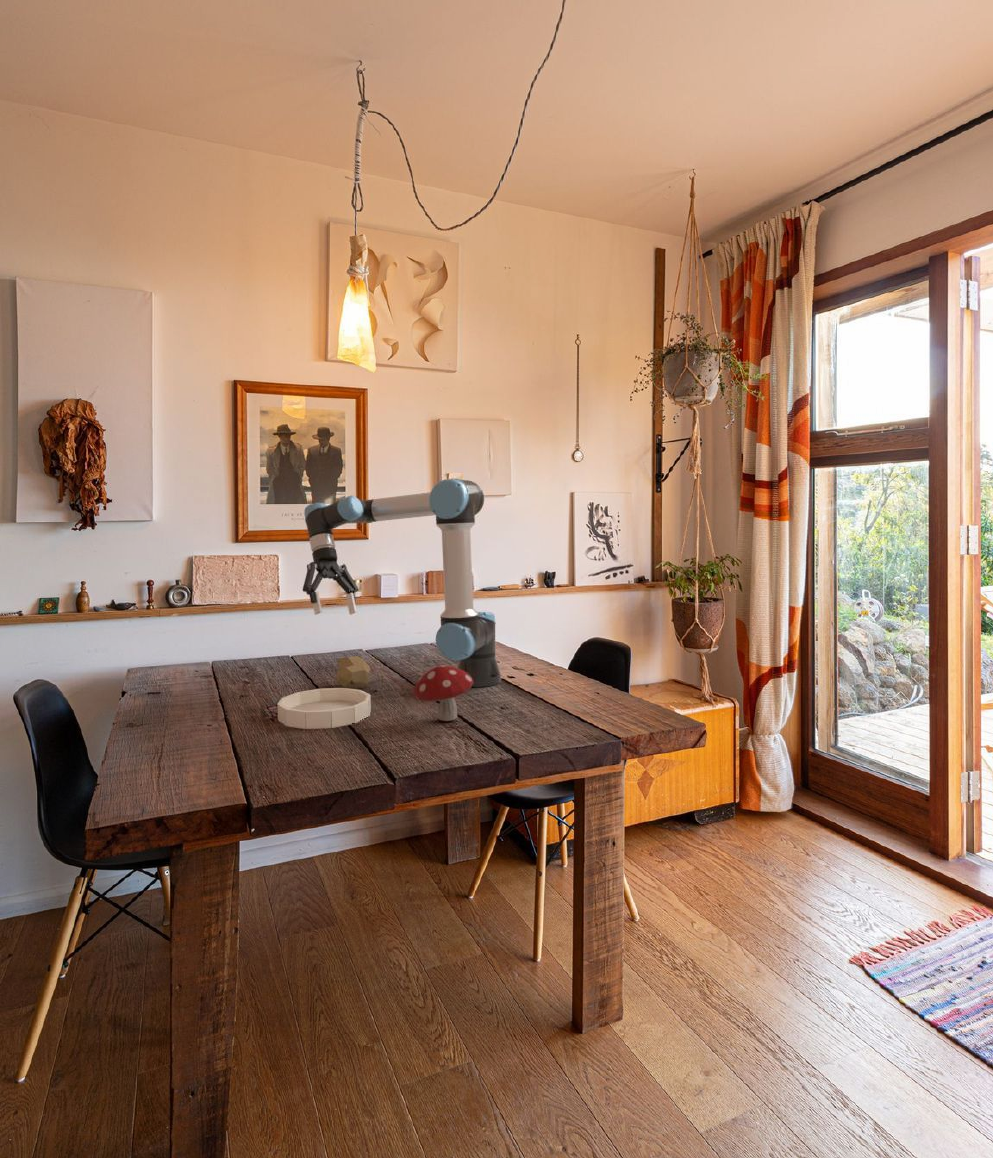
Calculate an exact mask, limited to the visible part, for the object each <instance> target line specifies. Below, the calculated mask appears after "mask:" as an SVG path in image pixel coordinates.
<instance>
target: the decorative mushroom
mask: <svg viewBox="0 0 993 1158" xmlns="http://www.w3.org/2000/svg"><path fill="white" fill-rule="evenodd" d="M473 683H474V681H473V679H472V677H471V676H470V675H469V674H468V673H467V672H465V671H463V670H461V669H459V668H457V666H451V665H437V666H435V667H432V668H431V669H430V670H428V671H427V672H425V673H424V674H422V675H421V676H420V678H419V679H418V680H417V681H416V683H415V685H414V687H413V694H414V696H415V698H416V699H419V700H420V701H427V702H436V701H439V705H438V708H437V709H438V711H437V715H438V716H437V719H438V720H440V721H443V722H449V721H454V720H456V719H457V718H458V707H457V706H458V705H457V703H456V700H455V697H458V696H461V695H464V694H465V693H466V692H468V691H469V690H470V689H471V688H472V687H471V686H472V685H473Z"/></svg>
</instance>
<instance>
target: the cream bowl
mask: <svg viewBox="0 0 993 1158" xmlns="http://www.w3.org/2000/svg"><path fill="white" fill-rule="evenodd" d="M371 700H372V695H371V694H370V693H367V692H366V691H363V690H362V689H348V688H345V687H333V688H329V687H328V688H315V689H309V690H304V691H297V692H294V693H292V694H289V695H287V696H283V697H281V699H280V700H279V701H278V703H277V704H276V705H277V721H279V722H280V723H281V724H282V725H284V726H285V727H290V728H297V729H302V730H303V729H305V730H314V729H316V730H317V729H334V728H339V727H343V726H351V725H353V724H352V723H355V724H357V723H360V722H361V721H363V720H365V719H364V718H366V717H368V716H369V717H370V715H371V712H372V701H371ZM369 717H368V718H369ZM362 719H363V720H362ZM366 719H367V718H366ZM360 720H361V721H360Z"/></svg>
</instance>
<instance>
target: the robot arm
mask: <svg viewBox="0 0 993 1158" xmlns="http://www.w3.org/2000/svg"><path fill="white" fill-rule="evenodd" d="M484 504H485V495H484V491H483V490H482V488H481V487H480V485H478V483H476V482H474V481H472V480H465V479H461V478H460V479H458V478H446V479H443V480H440V481H438V482H437V483H436V484H435V485H434V486H433V487H432V489H431V491H430V492H422V493H415V494H406V495H397V496H389V497H382V498H372V499H363V500H360V498H357V497H356V496H355V495H349V496H346V497H342V498H340V499H339V500H337V501H335V502H333V503H330V504H328V505H326V504H325V503H324V502H315V503H310V504H308V505H307V506H305V508H304V511H303V512H304V520H305V525H306V529H307V533H308V539H309V545H310V548H311V549H310V550H311V552H312V553H311V554H312V560H313V561H311V562H310V563H308V564H307V565H306V575H305V579H304V583H303V586H302V592H304V593H306V595H307V596H309V598H310V599H309V600H310V603H311V604H312V607H313V612H314V615H319V614H320V613H322V612H323V608H322V604H321V599H320V598H321V597H320V593H319V591H317V589H318V587H319V585H320V583H321V582H322V580H323V579H330V580H331V579H332V580H333V581H334V582H336V583H337V584H338V585H339V586H340V588H341V589H342V590H343V591H344V592H345V593H346V595H345V598H346V603H347V604H346V605H347V607H348V609H347V610H348V612H349V613H348V614H349V615H353V614H355V613H357V612H358V611H357V606H356V603H357V600H356V595H355V593H357V592H358V591H359V590H360V589H359V587H358V586H357V584H356V582H355V580H354V578H353V577H352V576H351V574H350V573H349V571H348V568H347V565H346V564H345V563H343V564H342V565H339V563H338V554H337V550H336V544H335V539H334V535H333V530H334V529H336V528H338V527H340V526H343V525H346V524H371V523H376V522H383V521H385V522H386V521H392V520H393V521H394V520H403V519H412V518H414V519H415V518H420V517H421V518H422V517H432V516H435V523H436V525H435V526H436V527H438V528H439V529H440V530H441V545H442V546H441V547H442V568H443V572H442V573H443V589H444V593H443V594H444V611H442V613H441V614H440V627H439V629H438V630H437V632H436V634H435V644H436V647H437V650H438V652H440V654H442V656H443V657H445V659H448V660H451V661H458V663H457V666H456V668H459V669H461V670H463V671H465V672H467V673H468V674H469V675H470V676H471V677H472V679H473V681H474V683H473V685H472V686H471V688H473V687H474V688H483V687H484V688H485V687H491V686H492V687H493V686H495V685H499V684H500V683H501V682H502V674H501V671H500V669H499V665H498V661H497V659H496V625H497V624H496V616H495V614H494V613H493V612H490V611H477V610H476V609H474V595H473V592H474V591H473V588H474V587H473V570H472V568H473V566H472V546H471V545H472V541H471V529H472V528H473V526H474V525H475V524H476V519H475V518H476V517H475V516H476V515H477V514H479V513H480V512H481V510H482V508H483V507H484ZM316 572H317V573H316ZM315 573H316V575H315ZM314 577H315V578H314Z"/></svg>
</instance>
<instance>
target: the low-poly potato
mask: <svg viewBox="0 0 993 1158" xmlns="http://www.w3.org/2000/svg"><path fill="white" fill-rule="evenodd" d="M370 671H371V667H370V666H369V664H368V663H367V662H366V661H365V660H364V658H362V657H360V656H358V655H354V656H347V657H346V656H345V657H341V658H337V671H336V683H337V684H338V685H340V686H341V687H342V688H347V689H356V690H361V689H362V688H364V687H365V686H367V685H368V684H369V683H370V673H371V672H370Z"/></svg>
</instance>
